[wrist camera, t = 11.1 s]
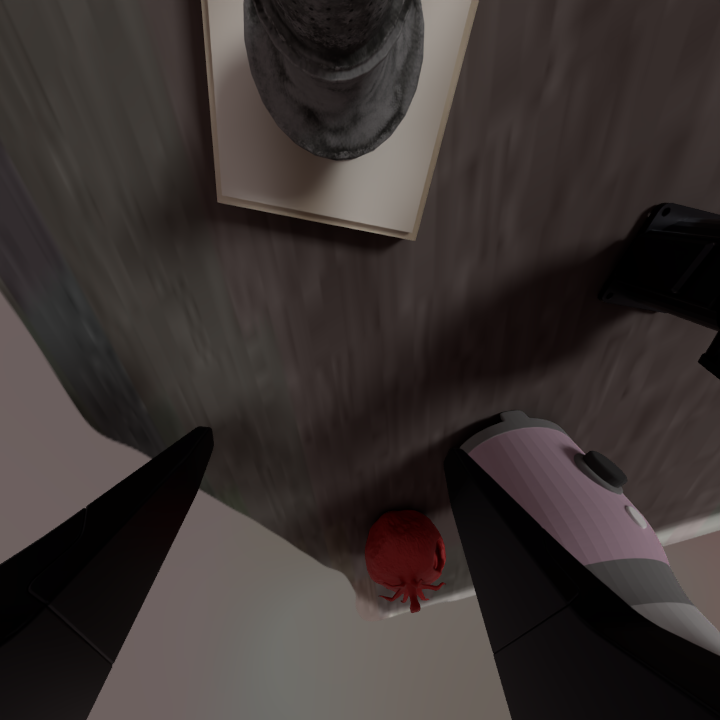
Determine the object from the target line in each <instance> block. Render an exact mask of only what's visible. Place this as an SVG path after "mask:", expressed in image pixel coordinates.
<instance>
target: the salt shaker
mask: <svg viewBox="0 0 720 720" xmlns="http://www.w3.org/2000/svg"><path fill="white" fill-rule="evenodd" d="M243 12H244V42H245V46H246V51H247V56H248V61H249V66H250V71H251V75H252V77H253V80H254V82H255V85H256V87H257V90H258V92H259V95H260V97H261V100H262V102H263V104H264V105H265V107H266V109H267V110H268V112H269V113H270V115H271V116H272V118H273V119H274V121H275V123H276V124H277V126H278V127H279V128H280V129H281V130H282V131H283V132H284V133H285V134H286V135H287V136H288V137H289V138H290V139H291V140H292V141H293V142H294V143H295V144H296V145H298V146H300V147H301V148H303V149H305V150H306V151H308V152H310V153H312V154H313V155H315V156H319V157H323V158H327V159H331V160H335V161H342V160H352V159H355V158H358V157H360V156H362V155H365V154H367V153H369V152H372V151H374V150H375V149H376V148H377V147H379V146H380V145H381V144H382V143H383V142H385V141H386V140H387V139H388V138H389V137H390V136H391V135H392V134H393V132H394V131H395V130H396V128H397V127H398V125H399V124H400V123H401V121H402V120H403V118H404V117H405V116H406V113H407V111H408V109H409V106H410V104H411V102H412V99H413V97H414V95H415V92H416V90H417V85H418V81H419V76H420V72H421V67H422V62H423V52H424V18H423V11H422V4H421V0H244V2H243Z"/></svg>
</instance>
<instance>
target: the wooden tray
mask: <svg viewBox="0 0 720 720" xmlns="http://www.w3.org/2000/svg"><path fill="white" fill-rule="evenodd" d="M243 2H244V0H201V5H202V17H203V29H204V42H205V54H206V66H207V79H208V91H209V103H210V116H211V128H212V140H213V153H214V165H215V177H216V190H217V202H218V203H223V204H228V205H233V206H238V207H244V208H249V209H254V210H259V211H264V212H269V213H274V214H280V215H285V216H290V217H295V218H300V219H305V220H310V221H316V222H321V223H326V224H331V225H336V226H341V227H346V228H352V229H357V230H362V231H367V232H372V233H377V234H382V235H388V236H393V237H398V238H403V239H408V240H413V241H415V240H416V236H417V233H418V229H419V225H420V221H421V218H422V214H423V210H424V206H425V202H426V199H427V195H428V191H429V187H430V183H431V180H432V176H433V172H434V168H435V165H436V161H437V157H438V153H439V149H440V146H441V142H442V138H443V134H444V130H445V127H446V123H447V119H448V115H449V112H450V108H451V104H452V100H453V96H454V93H455V89H456V85H457V81H458V77H459V74H460V70H461V66H462V62H463V59H464V55H465V51H466V47H467V43H468V40H469V36H470V32H471V28H472V24H473V21H474V17H475V13H476V9H477V6H478V2H479V0H421V4H422V11H423V18H424V52H423V62H422V67H421V72H420V76H419V81H418V85H417V90H416V92H415V95H414V97H413V99H412V102H411V104H410V106H409V109H408V111H407V113H406V116H405V117H404V118H403V120H402V121H401V123H400V124H399V125H398V127H397V128H396V130H395V131H394V132H393V134H392V135H391V136H390V137H389V138H388V139H387V140H386V141H385V142H383V143H382V144H381V145H380V146H379V147H377V148H376V149H375V150H374V151H372V152H369V153H367V154H365V155H362V156H360V157H358V158H355V159H352V160H342V161H335V160H331V159H327V158H323V157H319V156H315V155H313V154H312V153H310V152H308V151H306V150H305V149H303V148H301V147H300V146H298V145H296V144H295V143H294V142H293V141H292V140H291V139H290V138H289V137H288V136H287V135H286V134H285V133H284V132H283V131H282V130H281V129H280V128H279V127H278V126H277V124H276V123H275V121H274V119H273V118H272V116H271V115H270V113H269V112H268V110H267V109H266V107H265V105H264V104H263V102H262V100H261V97H260V95H259V92H258V90H257V87H256V85H255V82H254V80H253V77H252V75H251V71H250V66H249V61H248V56H247V51H246V46H245V42H244V12H243Z"/></svg>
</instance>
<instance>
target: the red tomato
mask: <svg viewBox="0 0 720 720" xmlns="http://www.w3.org/2000/svg"><path fill="white" fill-rule="evenodd" d="M365 560H366V565H367V570H368V573H369V575H370V577H371V579H372V580H373V581H374V582H376V583H378V584H381V585H383V586H384V587H386V588H387V589H390V590H392V591H394V592H396V594H395V595H394V596H393V598H390V597H385V596H380V597H383V598H385V599H386V600H388V601H394V600H395V599H396V598H398V597H399V596H401V594H404V598H403V601H402V600H401V602H402V603H405V602H406V600H407V598H408V596H409V597H410V601H411V605H410V610H411V613H414V612H418V611H420V604H419V602H418V600H417V595H418V596H419V597H420V598H421V600H429V599H425V597H424V594H423V592H422V591H421V590H422V589H432V590H435V591H436V590H439V589H440V588H441V586H442V585H443V584H445V583H443V582H442V583H440V584H439V585H438V586H433V585H430V584H431V583H432V582H434V581H435V580H436V579H438V578H439V577H440V575H441V574H442V572H441V571H442V570H443V567H444V564H445V560H446V554H445V546H444V543H443V539H442V537H441V535H440V533H439V531H438V530H437V528H436V527H435V525H434V524H433V523H432V521H431V520H430V519H429V518H428V517H426V516H425V515H424V514H422V513H420V512H417V511H415V510H401V511H395V510H393V511H388V512H386V513H384V514H383V515H382V516H381V517H380V518H379V519H378V520H377V521H376V522H375V523H374V524H373V526H372V527H371V528H370V530H369V534H368V538H367V542H366V546H365ZM445 585H446V584H445Z"/></svg>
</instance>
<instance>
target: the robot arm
mask: <svg viewBox="0 0 720 720" xmlns="http://www.w3.org/2000/svg"><path fill="white" fill-rule="evenodd" d="M663 210H664V211H663ZM662 212H663V213H662ZM607 294H608V295H607ZM606 295H607V296H606ZM598 299H599V300H601V301H604V302H607V303H613V304H618V305H624V306H629V307H635V308H640V309H646V310H651V311H657V312H662V313H669V314H672V315H674V316H677V317H680V318H683V319H685V320H688V321H691V322H694V323H696V324H699V325H702V326H705V327H707V328H710V329H713V330H716V331H718V333H717V334H716V336H715V338H714V339H713V341H712V343H711V344H710V346H709V348H708V349H707V351H706V353H704V354H702V355H701V357H700V359H699V360H698V363H700V364H701V365H702V366H703V367H705V368H706V369H707V370H708V371H710V372H711V373H712V374H713V375H715V376H716V377H717V378H718V379H720V215H718V214H714V213H710V212H706V211H702V210H698V209H694V208H690V207H686V206H682V205H678V204H674V203H661V204H659V205H658V206H656V207H655V209H654V210H653V211H652V213H651V214H650V216H649V217H648V219H647V221H646V222H645V224H644V225H643V227H642V228H641V230H640V231H639V233H638V234H637V236H636V237H635V239H634V241H633V242H632V244H631V245H630V247H629V248H628V250H627V251H626V253H625V254H624V256H623V257H622V259H621V260H620V262H619V264H618V265H617V267H616V268H615V270H614V271H613V273H612V274H611V276H610V277H609V279H608V280H607V282H606V284H605V285H604V287H603V288H602V290H601V291H600V293H599V295H598ZM213 447H214V440H213V434H212V429H211V428H210V427H202V426H199V427H197V428H195V429H194V430H192V431H191V432H189V433H188V434H187V435H185V436H184V437H182V438H181V439H180V440H178V441H177V442H175V443H174V444H173V445H171V446H170V447H168V448H167V449H166V450H164V451H163V452H161V453H160V454H159V455H157V456H156V457H154V458H153V459H152V460H150V461H149V462H148V463H146V464H145V465H143V466H142V467H141V468H139V469H138V470H136V471H135V472H134V473H132V474H131V475H129V476H128V477H127V478H125V479H124V480H122V481H121V482H120V483H118V484H117V485H115V486H114V487H113V488H111V489H110V490H108V491H107V492H106V493H104V494H103V495H102V496H100V497H99V498H97V499H96V500H94V501H93V502H92V503H90V504H89V505H87V507H86V508H83V509H82V510H80V511H79V512H77V513H76V514H75V515H73V516H72V517H71V518H69V519H68V520H66V521H65V522H63V523H62V524H60V525H59V526H58V527H56V528H55V529H53V530H52V531H50V532H49V533H48V534H46V535H45V536H43V537H42V538H40V539H39V540H37V541H35V542H34V543H32V544H31V545H29V546H28V547H26V548H25V549H23V550H22V551H20V552H19V553H17V554H16V555H14V556H12V557H11V558H9V559H8V560H6V561H4V562H3V563H1V564H0V720H86V719H87V717H88V715H89V713H90V711H91V709H92V707H93V705H94V703H95V701H96V699H97V697H98V695H99V693H100V691H101V689H102V687H103V685H104V683H105V680H106V679H107V676H108V674H109V672H110V670H111V668H112V664H113V663H114V662H115V660H116V657H117V656H118V653H119V651H120V650H121V647H122V645H123V643H124V641H125V639H126V637H127V635H128V633H129V631H130V629H131V627H132V625H133V623H134V621H135V619H136V617H137V615H138V612H139V611H140V609H141V607H142V605H143V603H144V600H145V598H146V596H147V594H148V592H149V590H150V588H151V586H152V584H153V582H154V580H155V578H156V576H157V574H158V572H159V570H160V568H161V566H162V563H163V561H164V560H165V558H166V556H167V554H168V551H169V549H170V547H171V545H172V543H173V541H174V539H175V537H176V535H177V533H178V531H179V529H180V527H181V525H182V523H183V521H184V519H185V516H186V514H187V513H188V511H189V509H190V506H191V504H192V502H193V500H194V498H195V496H196V494H197V491H198V489H199V487H200V484H201V481H202V478H203V476H204V473H205V470H206V467H207V465H208V462H209V459H210V456H211V453H212V451H213ZM444 471H445V476H446V482H447V487H448V493H449V499H450V503H451V508H452V511H453V515H454V518H455V522H456V525H457V529H458V532H459V536H460V539H461V543H462V546H463V550H464V553H465V557H466V560H467V564H468V567H469V571H470V574H471V578H472V581H473V585H474V588H475V592H476V595H477V599H478V602H479V606H480V609H481V613H482V616H483V619H484V623H485V627H486V630H487V634H488V637H489V641H490V644H491V648H492V651H493V653H494V659H495V662H496V666H497V669H498V673H499V676H500V679H501V683H502V686H503V690H504V694H505V697H506V701H507V704H508V708H509V711H510V715H511V718H512V720H720V656H719V655H717V654H715V653H713V652H711V651H709V650H707V649H705V648H703V647H701V646H698V645H696V644H694V643H692V642H690V641H688V640H686V639H684V638H682V637H680V636H678V635H676V634H674V633H672V632H670V631H668V630H666V629H664V628H662V627H660V626H658V625H656V624H655V623H653V622H651V621H650V620H648V619H647V618H645V617H644V616H642V615H641V614H640V613H638V612H637V611H636V610H634V609H633V608H632V607H631V606H630V605H628V604H627V603H626V602H625V601H624V600H623V599H622V598H620V597H619V596H618V595H617V594H616V593H615V592H614V591H612V590H611V589H610V588H609V587H608V586H607V585H605V584H604V583H603V582H602V581H601V580H600V579H599V578H597V577H596V576H595V575H594V574H593V573H592V572H591V571H589V570H588V569H587V568H586V567H585V566H584V565H583V564H582V563H580V562H579V561H578V560H577V559H576V558H575V557H574V556H573V555H572V554H570V553H569V552H568V551H567V550H566V549H565V548H564V547H563V546H562V545H561V544H560V543H559V542H558V541H557V540H556V539H554V538H553V537H552V536H551V535H550V534H549V533H548V532H547V531H546V530H545V529H544V528H542V526H541V525H540V524H539V523H538V522H537V521H536V520H535V519H534V518H533V517H532V516H531V515H530V514H529V513H528V512H527V511H526V510H525V509H524V508H523V507H521V506H520V505H519V504H518V503H517V502H516V501H515V500H514V499H513V498H512V497H511V496H510V495H509V494H508V493H507V492H506V491H505V490H504V489H503V488H502V487H501V486H500V485H499V484H498V483H497V482H496V481H495V480H494V479H493V478H492V477H491V476H490V475H489V474H488V473H487V472H486V471H485V470H484V469H483V468H481V467H480V466H479V465H478V464H477V463H476V462H475V461H474V460H473V459H472V458H471V457H470V456H469V455H468V454H467V453H466V452H465V451H464V450H463V449H461V448H451V449H450V450H449V452H448V454H447V456H446V458H445V460H444Z"/></svg>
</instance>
